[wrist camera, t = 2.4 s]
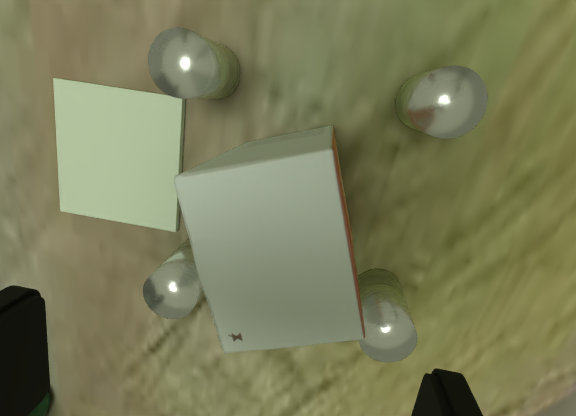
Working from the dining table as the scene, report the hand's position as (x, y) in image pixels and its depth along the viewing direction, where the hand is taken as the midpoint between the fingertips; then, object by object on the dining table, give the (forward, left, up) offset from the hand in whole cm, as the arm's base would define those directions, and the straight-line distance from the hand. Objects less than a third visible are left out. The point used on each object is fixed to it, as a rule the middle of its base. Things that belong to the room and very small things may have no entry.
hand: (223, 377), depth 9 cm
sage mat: (+14, 0, -19) cm, 23 cm away
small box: (0, 0, -19) cm, 19 cm away
